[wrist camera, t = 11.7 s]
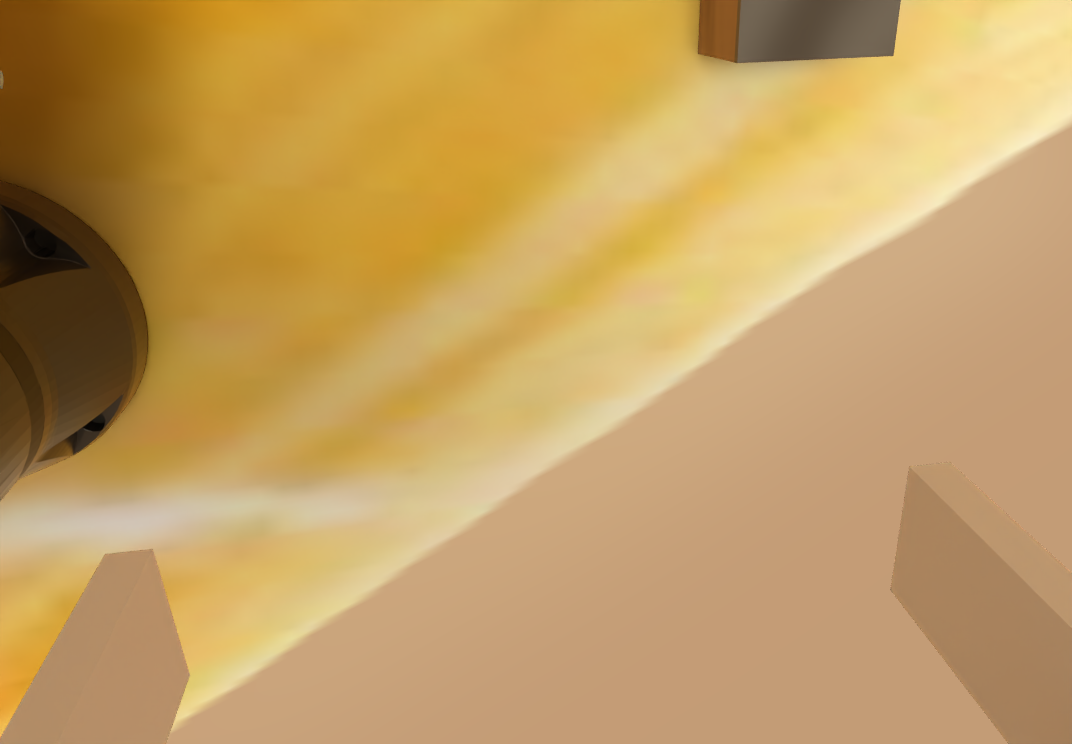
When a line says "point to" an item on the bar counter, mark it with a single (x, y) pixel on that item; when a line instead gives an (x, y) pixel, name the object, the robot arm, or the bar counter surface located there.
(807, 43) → the brown wooden block
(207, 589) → the bar counter surface
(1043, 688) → the robot arm
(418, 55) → the bar counter surface
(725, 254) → the bar counter surface
